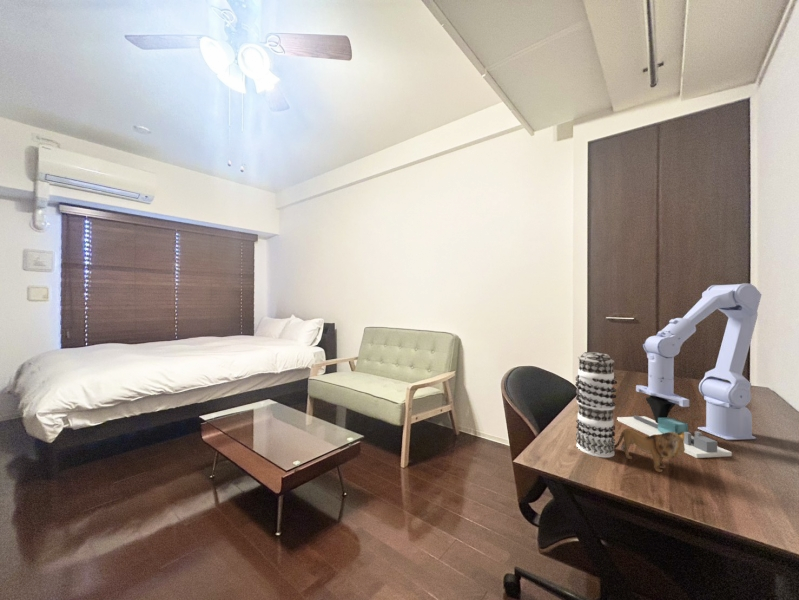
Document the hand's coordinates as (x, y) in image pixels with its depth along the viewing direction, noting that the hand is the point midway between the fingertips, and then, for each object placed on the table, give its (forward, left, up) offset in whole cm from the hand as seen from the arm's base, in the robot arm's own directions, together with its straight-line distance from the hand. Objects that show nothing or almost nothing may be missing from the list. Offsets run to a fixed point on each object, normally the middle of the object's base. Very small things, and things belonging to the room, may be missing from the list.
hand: (660, 423), depth 90 cm
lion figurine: (+19, +15, -3) cm, 24 cm away
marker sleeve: (0, +4, -2) cm, 4 cm away
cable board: (0, +3, -3) cm, 4 cm away
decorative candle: (+27, +8, -3) cm, 28 cm away
